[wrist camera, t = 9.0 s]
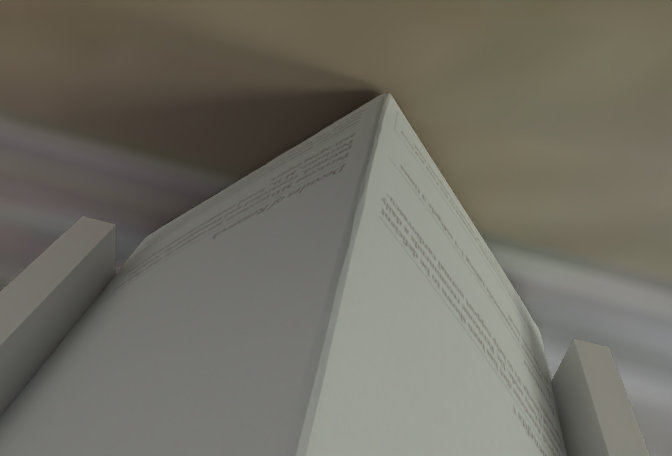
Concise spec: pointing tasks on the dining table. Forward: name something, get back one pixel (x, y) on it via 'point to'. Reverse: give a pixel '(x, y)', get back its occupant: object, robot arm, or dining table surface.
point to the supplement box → (304, 323)
